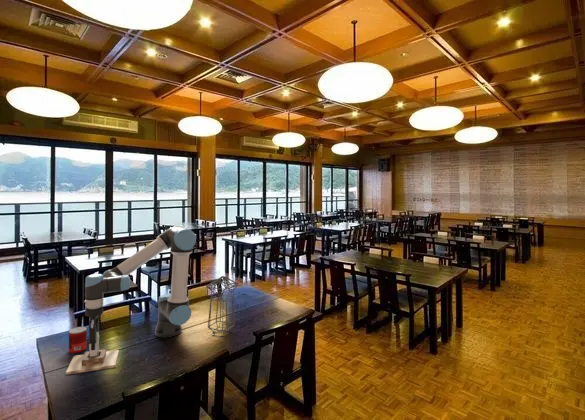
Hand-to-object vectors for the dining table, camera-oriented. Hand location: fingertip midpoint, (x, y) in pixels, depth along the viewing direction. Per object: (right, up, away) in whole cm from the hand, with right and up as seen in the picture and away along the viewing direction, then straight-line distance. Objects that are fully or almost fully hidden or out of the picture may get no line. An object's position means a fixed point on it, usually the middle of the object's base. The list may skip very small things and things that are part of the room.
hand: (94, 353), depth 162 cm
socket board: (0, -5, 0) cm, 5 cm away
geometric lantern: (+54, -5, +39) cm, 67 cm away
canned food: (-16, -4, +12) cm, 20 cm away
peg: (0, -4, 0) cm, 4 cm away
